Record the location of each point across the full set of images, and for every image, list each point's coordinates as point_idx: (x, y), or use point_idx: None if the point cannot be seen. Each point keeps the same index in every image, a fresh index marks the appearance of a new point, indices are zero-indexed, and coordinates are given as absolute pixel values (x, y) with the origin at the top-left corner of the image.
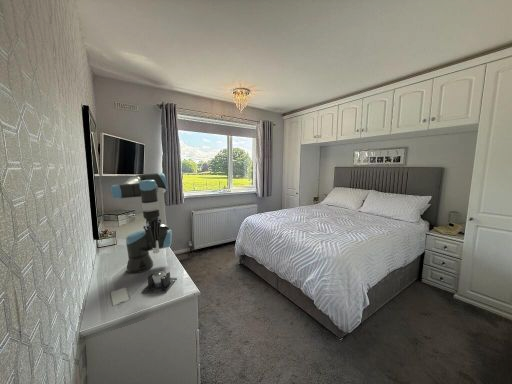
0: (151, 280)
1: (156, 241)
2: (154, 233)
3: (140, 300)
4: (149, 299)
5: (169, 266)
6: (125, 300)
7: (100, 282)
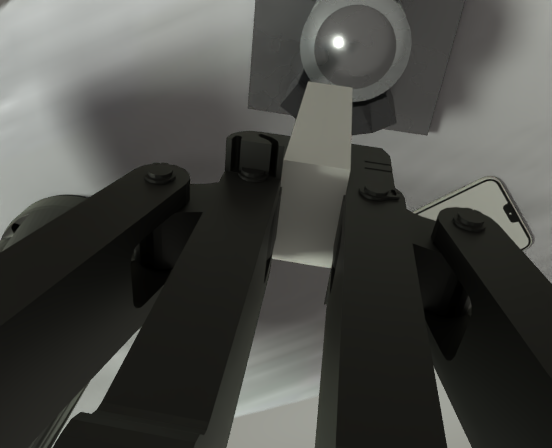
0: (386, 91)
1: (338, 174)
2: (399, 331)
3: (527, 100)
4: (539, 34)
5: (52, 60)
6: (497, 197)
7: (252, 389)
